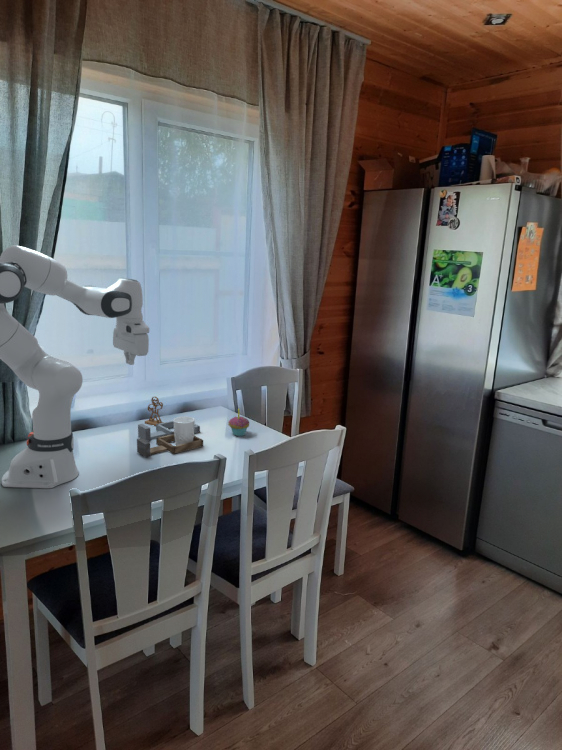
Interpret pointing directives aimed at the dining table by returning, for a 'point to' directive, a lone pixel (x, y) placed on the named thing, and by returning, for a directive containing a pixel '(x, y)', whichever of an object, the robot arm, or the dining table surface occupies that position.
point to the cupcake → (238, 425)
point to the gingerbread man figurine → (151, 420)
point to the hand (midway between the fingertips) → (130, 364)
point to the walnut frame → (166, 445)
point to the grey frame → (159, 430)
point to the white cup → (183, 430)
